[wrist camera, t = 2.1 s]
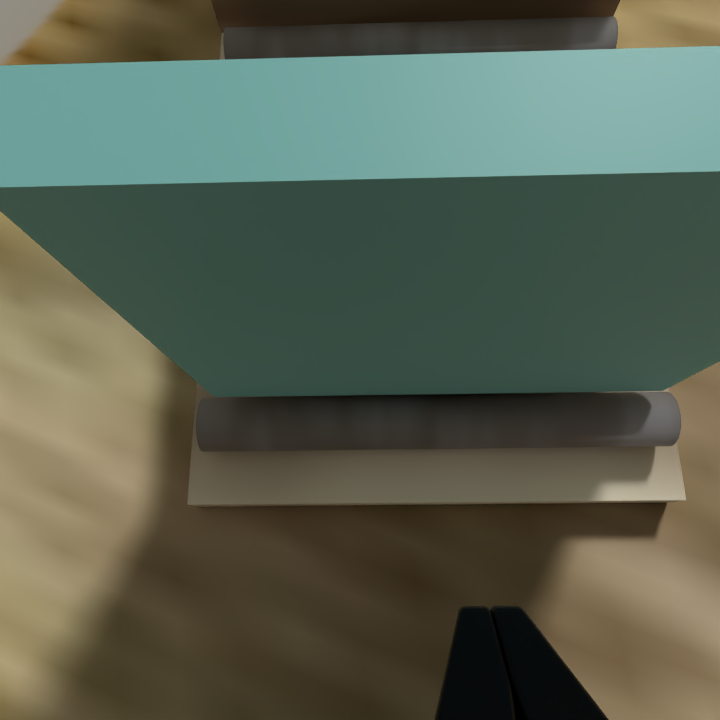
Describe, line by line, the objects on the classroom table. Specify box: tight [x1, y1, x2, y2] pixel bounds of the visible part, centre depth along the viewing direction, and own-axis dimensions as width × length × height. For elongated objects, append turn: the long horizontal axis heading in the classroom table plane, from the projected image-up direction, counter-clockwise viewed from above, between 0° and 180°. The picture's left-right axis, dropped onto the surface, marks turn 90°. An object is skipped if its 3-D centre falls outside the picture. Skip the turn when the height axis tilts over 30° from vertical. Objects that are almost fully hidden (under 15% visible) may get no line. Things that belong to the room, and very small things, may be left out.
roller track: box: [187, 0, 686, 507], centre depth 16 cm, size 18×13×6 cm
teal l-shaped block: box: [0, 46, 720, 397], centre depth 11 cm, size 7×11×9 cm, turn 90°
